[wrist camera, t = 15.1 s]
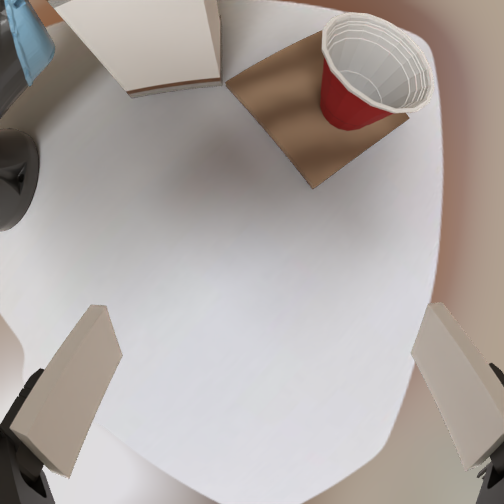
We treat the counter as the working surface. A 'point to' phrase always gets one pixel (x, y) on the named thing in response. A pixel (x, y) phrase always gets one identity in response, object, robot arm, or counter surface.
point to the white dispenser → (151, 41)
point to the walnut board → (303, 111)
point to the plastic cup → (370, 71)
